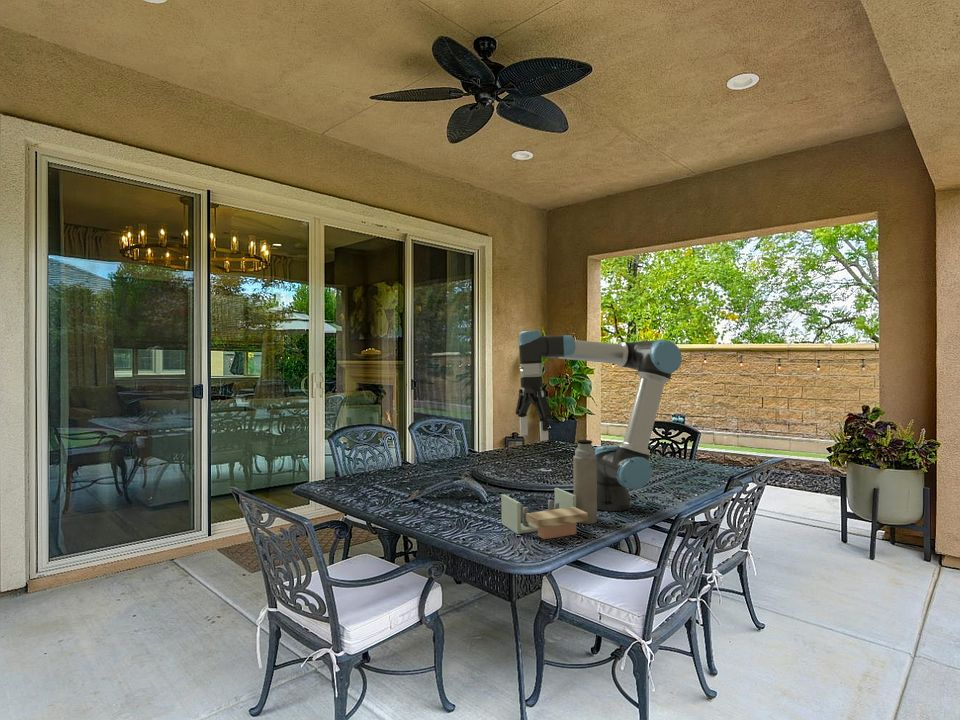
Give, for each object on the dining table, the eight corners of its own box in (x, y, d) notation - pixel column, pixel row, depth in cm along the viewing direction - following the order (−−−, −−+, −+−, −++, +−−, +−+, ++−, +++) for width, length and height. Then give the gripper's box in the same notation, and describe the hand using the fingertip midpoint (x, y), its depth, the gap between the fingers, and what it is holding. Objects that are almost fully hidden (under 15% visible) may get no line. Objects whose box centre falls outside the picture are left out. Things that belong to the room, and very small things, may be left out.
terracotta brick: (569, 530, 179) (569, 516, 179) (576, 534, 175) (576, 520, 175) (537, 535, 174) (537, 521, 174) (543, 539, 171) (543, 525, 171)
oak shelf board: (573, 514, 182) (573, 506, 182) (587, 520, 175) (587, 512, 175) (526, 521, 175) (526, 513, 175) (538, 528, 168) (538, 520, 167)
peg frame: (557, 515, 196) (557, 487, 196) (576, 524, 185) (575, 495, 185) (501, 523, 187) (501, 494, 187) (517, 534, 176) (517, 503, 176)
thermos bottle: (571, 517, 194) (571, 438, 193) (593, 516, 194) (593, 438, 194) (576, 524, 186) (575, 442, 185) (599, 523, 186) (598, 442, 186)
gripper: (504, 375, 195) (507, 434, 195) (541, 377, 172) (543, 444, 173) (522, 374, 198) (525, 432, 198) (560, 376, 175) (563, 441, 176)
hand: (533, 437), depth 186 cm, fingers open, 13 cm apart
